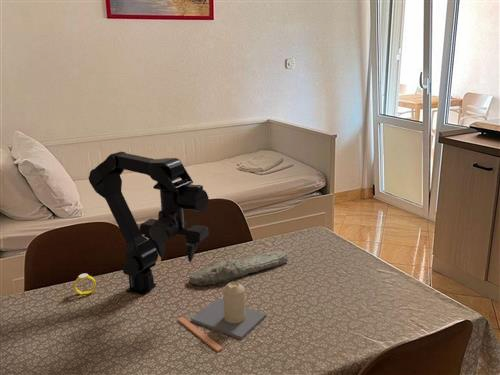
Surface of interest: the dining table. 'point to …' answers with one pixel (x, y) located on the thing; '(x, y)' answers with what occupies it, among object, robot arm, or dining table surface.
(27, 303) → the dining table surface
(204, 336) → the orange curved strip
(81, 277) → the gold diamond ring
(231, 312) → the candle
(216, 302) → the mat
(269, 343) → the dining table surface
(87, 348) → the dining table surface
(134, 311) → the dining table surface
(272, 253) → the long grey stone
